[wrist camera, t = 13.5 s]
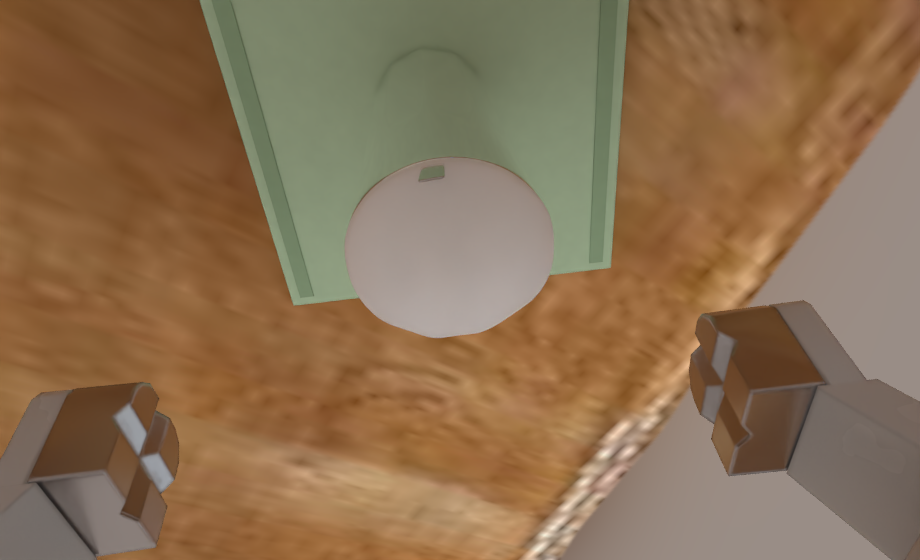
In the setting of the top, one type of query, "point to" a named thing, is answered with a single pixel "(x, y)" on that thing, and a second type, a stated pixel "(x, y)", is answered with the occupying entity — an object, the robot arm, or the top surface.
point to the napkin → (353, 95)
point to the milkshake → (443, 206)
